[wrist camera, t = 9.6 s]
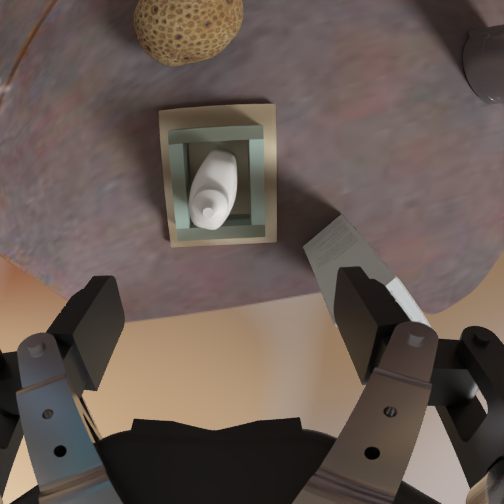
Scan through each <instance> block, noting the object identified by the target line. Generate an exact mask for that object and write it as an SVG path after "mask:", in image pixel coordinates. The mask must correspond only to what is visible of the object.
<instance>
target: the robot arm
mask: <svg viewBox="0 0 504 504" xmlns="http://www.w3.org/2000/svg"><path fill="white" fill-rule="evenodd" d="M463 66H464V71H465V74H466V77H467V80H468V82H469V84H470V86H471V87H472V89H473V90H474V92H475V93H476V94H477V95H478V96H479V97H480V98H481V99H482V100H483V101H485V102H487V103H491V104H498V105H504V25H498V26H492V27H486V28H481V29H476V30H471V31H469V39H468V41H467V42H466V44H465V46H464V49H463ZM333 310H334V318H335V322H336V324H337V326H338V329H339V331H340V333H341V336H342V338H343V340H344V342H345V345H346V347H347V350H348V352H349V354H350V356H351V359H352V361H353V364H354V366H355V369H356V371H357V373H358V376H359V378H360V381H361V383H362V385H366V384H367V385H366V387H365V388H364V390H363V392H362V394H361V396H360V398H359V400H358V402H357V404H356V406H355V408H354V410H353V411H352V413H351V415H350V417H349V419H348V421H347V422H346V425H345V426H344V428H343V429H342V431H341V433H340V435H339V436H338V438H335V437H333V436H331V435H328V434H325V433H322V432H318V431H314V430H309V429H302V426H301V421H300V418H299V417H298V418H287V419H276V420H260V421H255V422H251V423H247V424H243V425H239V426H234V427H230V428H226V429H221V430H207V429H203V428H198V427H194V426H190V425H185V424H182V423H178V422H174V421H159V420H144V419H134V420H133V424H132V428H131V430H129V431H123V432H119V433H116V434H112V435H110V436H107V437H105V438H102V436H101V434H100V433H99V431H98V428H97V426H96V424H95V422H94V420H93V418H92V416H91V414H90V411H89V409H88V407H87V405H86V403H85V400H84V398H83V397H82V393H83V391H84V390H92V391H97V390H98V387H99V385H100V382H101V380H102V377H103V375H104V372H105V370H106V367H107V365H108V363H109V360H110V358H111V355H112V353H113V351H114V348H115V346H116V344H117V342H118V339H119V337H120V335H121V332H122V330H123V327H124V322H125V317H124V311H123V307H122V303H121V299H120V295H119V291H118V287H117V282H116V279H115V278H114V276H93V277H92V279H91V280H90V281H89V282H88V284H87V285H86V287H85V288H84V289H81V290H80V291H79V292H77V293H76V294H74V295H73V296H72V297H71V298H70V300H69V301H68V302H67V304H66V306H64V308H63V309H62V311H61V313H59V315H58V316H57V317H56V319H55V320H54V322H53V323H52V324H51V326H50V327H49V329H48V330H47V332H46V333H37V334H34V335H31V336H29V337H27V338H26V339H25V340H24V341H22V342H21V344H20V345H19V347H18V349H17V351H15V352H8V353H2V352H1V350H0V504H3V501H2V497H3V493H4V490H5V487H6V483H7V480H8V477H9V474H10V471H11V468H12V465H13V462H14V459H15V457H16V454H17V451H18V449H19V446H20V443H21V440H22V438H23V435H24V437H25V441H26V445H27V448H28V453H29V456H30V460H31V463H32V467H33V469H34V473H35V476H36V479H37V482H38V485H37V486H35V487H34V488H32V489H31V490H29V491H28V492H26V493H25V494H24V495H22V496H21V497H19V498H17V499H16V500H15V501H13V502H12V503H10V504H441V503H439V502H438V501H436V500H434V499H432V498H431V497H429V496H427V495H425V494H424V493H422V492H420V491H419V490H417V489H415V488H414V487H412V486H410V485H409V484H407V483H406V482H404V481H402V479H403V476H404V474H405V471H406V468H407V466H408V463H409V460H410V458H411V455H412V452H413V449H414V446H415V443H416V440H417V437H418V434H419V431H420V428H421V425H422V421H423V418H424V415H425V411H426V408H427V406H435V407H436V410H437V412H438V414H439V416H440V418H441V420H442V422H443V424H444V427H445V429H446V431H447V434H448V436H449V438H450V440H451V443H452V445H453V447H454V450H455V452H456V454H457V457H458V459H459V461H460V464H461V467H462V469H463V472H464V474H465V477H466V479H467V482H468V485H469V487H470V491H469V493H468V495H467V498H466V504H504V345H503V343H502V342H501V341H500V340H499V338H498V337H497V336H496V335H495V334H494V333H493V332H492V331H490V330H488V329H486V328H483V327H480V326H470V327H467V328H465V329H464V330H463V332H462V334H461V337H460V339H459V340H449V339H438V335H437V333H436V332H435V331H434V330H433V329H432V328H431V327H429V326H428V325H425V324H423V323H420V322H414V321H411V320H410V318H409V317H408V316H407V314H406V313H405V312H404V310H403V309H402V308H401V306H400V305H399V303H398V302H396V300H395V298H394V297H393V296H392V295H391V293H390V292H389V290H388V289H387V288H386V286H385V285H383V284H382V283H380V282H379V281H377V280H376V279H369V277H368V276H367V275H366V273H365V272H364V271H363V269H362V268H361V267H360V266H352V267H340V268H339V269H338V272H337V280H336V289H335V298H334V307H333ZM478 389H480V391H481V393H482V394H483V396H484V398H485V399H486V401H487V405H488V413H487V414H486V412H485V410H484V409H483V407H482V405H481V403H480V402H479V400H478V398H477V397H476V393H477V391H478Z"/></svg>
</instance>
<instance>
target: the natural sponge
mask: <svg viewBox="0 0 504 504" xmlns="http://www.w3.org/2000/svg"><path fill="white" fill-rule="evenodd" d="M242 21H243V2H242V0H139V1H138V4H137V6H136V8H135V12H134V18H133V22H134V29H135V32H136V36H137V39H138V42H139V44H140V46H141V48H142V49H143V50H144V51H145V52H146V53H147V54H148V55H149V56H150V57H151V58H153V59H154V60H156V61H158V62H159V63H161V64H163V65H166V66H181V65H185V64H189V63H194V62H199V61H204V60H207V59H210V58H212V57H214V56H215V55H217V54H219V53H220V52H221V51H222V50H223V49H225V48H226V47H227V45H228V44H229V43H230V42H231V41H232V40H233V38H234V37H235V36H236V34H237V33H238V32H239V29H240V27H241V24H242Z"/></svg>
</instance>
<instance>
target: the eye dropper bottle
mask: <svg viewBox="0 0 504 504" xmlns="http://www.w3.org/2000/svg"><path fill="white" fill-rule="evenodd" d="M236 192H237V164H236V157H235V155H234V153H233V152H231V151H227V150H223V149H218V148H215V149H213V150H212V151H211V152H210V153H209V154H208V156H207V157H206V159H205V160H204V162H203V163H202V165H201V167H200V168H199V170H198V172H197V174H196V176H195V178H194V180H193V183H192V186H191V190H190V197H189V210H190V216H191V219H192V222H193V224H194V225H196V226H197V227H201V228H205V229H209V230H216V229H218V228H219V227H220V226H221V225H222V224H223V223H224V221H225V220H226V219H227V217H228V215H229V214H230V212H231V209H232V207H233V204H234V201H235V197H236Z"/></svg>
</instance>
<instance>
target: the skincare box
mask: <svg viewBox="0 0 504 504" xmlns="http://www.w3.org/2000/svg"><path fill="white" fill-rule="evenodd" d="M303 249H304V251H305V253H306V255H307V258H308V260H309V263H310V265H311V268H312V270H313V273H314V275H315V277H316V280H317V282H318V285H319V287H320V290H321V292H322V295H323V297H324V300H325V303H326V305H327V308H328V310H329V313H330V315H331V318H332V321H333V323H334V325H335V326H336V327H337V328H338V326H337V324H336V322H335V318H334V310H333V307H334V298H335V289H336V280H337V272H338V269H339V268H340V267H352V266H360V267H361V268H362V269H363V271H364V272H365V273H366V275H367V276H368V277H369V279H376V280H377V281H379V282H380V283H382V284H383V285H385V286H386V288H387V289H388V290H389V292H390V293H391V295H392V296H393V297H394V298H395V300H396V302H398V303H399V305H400V306H401V308H402V309H403V310H404V312H405V313H406V314H407V316H408V317H409V318H410V320H411V321H414V322H420V323H423V324H425V325H428V326H429V327H431V325H430V324H429V322H428V320H427V319H426V317H425V316H424V314H423V313H422V311H421V310H420V308H419V307H418V305H417V304H416V302H415V301H414V299H413V298H412V296H411V295H410V293H409V292H408V291H407V289H406V288H405V286H404V285H403V284H402V282H401V281H400V280H399V279H398V277H397V276H396V275H395V274H394V273H393V272H392V271H391V270H390V268H389V267H388V266H387V265H386V264H385V263H384V261H383V260H382V259H381V258H380V257H379V255H378V254H377V253H376V252H375V250H374V249H373V248H372V247H371V246H370V245H369V243H368V242H367V241H366V240H365V239H364V238H363V236H362V235H361V234H360V233H359V232H358V231H357V230H356V228H355V227H354V226H353V225H352V224H351V223H350V222H349V221H348V220H347V219H346V217H345V216H344V215H343V214H341V215H340V216H338V217H337V218H336V219H335V220H334V221H333V222H331V223H330V224H329V225H328V226H327V227H325V228H324V229H323V230H322V231H321V232H320V233H318V234H317V235H316V236H315V237H314V238H312V239H311V240H310V241H309V242H308V243H306V244H305V245H304V246H303ZM431 328H432V327H431Z"/></svg>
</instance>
